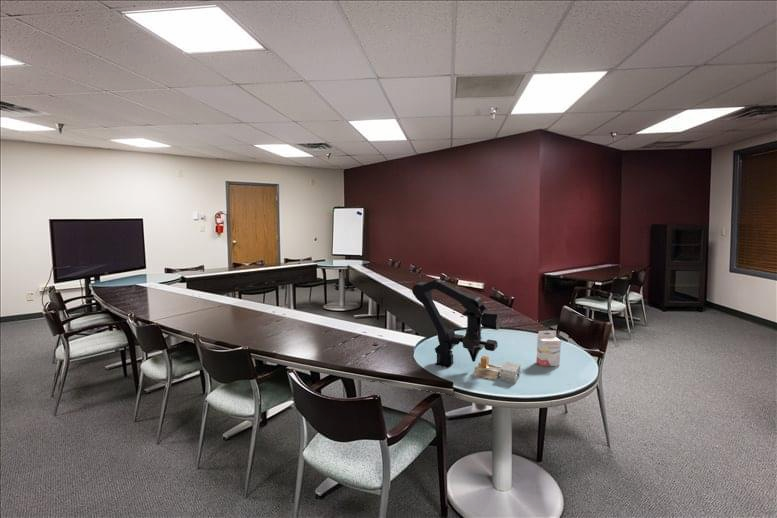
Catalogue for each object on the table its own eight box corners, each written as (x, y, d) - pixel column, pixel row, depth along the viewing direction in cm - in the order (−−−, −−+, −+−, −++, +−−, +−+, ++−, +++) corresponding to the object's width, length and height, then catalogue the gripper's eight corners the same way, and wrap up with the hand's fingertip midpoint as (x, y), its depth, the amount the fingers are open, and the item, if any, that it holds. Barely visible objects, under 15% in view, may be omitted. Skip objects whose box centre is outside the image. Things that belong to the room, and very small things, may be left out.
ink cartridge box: (540, 366, 166) (542, 334, 164) (536, 362, 171) (537, 330, 168) (560, 366, 166) (561, 333, 164) (554, 361, 171) (556, 329, 169)
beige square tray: (473, 375, 158) (473, 368, 158) (480, 366, 167) (480, 360, 166) (495, 380, 153) (496, 373, 153) (502, 371, 162) (502, 364, 161)
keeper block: (500, 380, 154) (500, 368, 153) (505, 372, 160) (505, 361, 160) (515, 383, 150) (515, 371, 150) (520, 375, 157) (520, 364, 156)
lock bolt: (480, 370, 160) (480, 358, 159) (482, 367, 163) (482, 355, 162) (499, 374, 156) (499, 362, 155) (501, 371, 158) (501, 359, 158)
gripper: (446, 328, 159) (446, 364, 161) (490, 335, 149) (489, 373, 151) (455, 321, 168) (455, 354, 170) (498, 327, 158) (497, 363, 161)
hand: (473, 361), depth 163 cm, fingers closed
